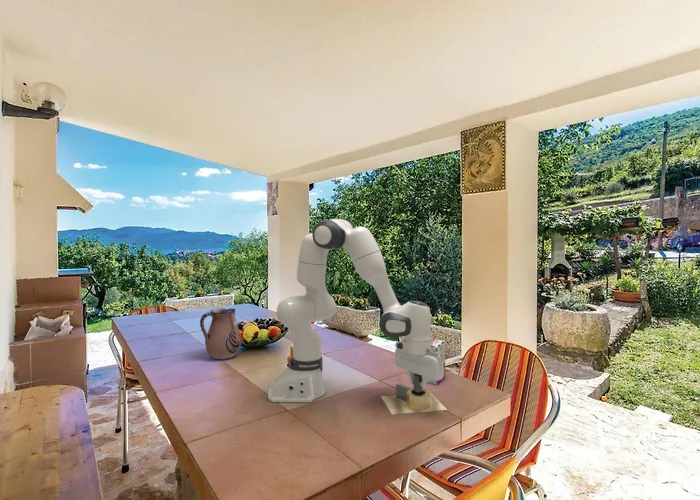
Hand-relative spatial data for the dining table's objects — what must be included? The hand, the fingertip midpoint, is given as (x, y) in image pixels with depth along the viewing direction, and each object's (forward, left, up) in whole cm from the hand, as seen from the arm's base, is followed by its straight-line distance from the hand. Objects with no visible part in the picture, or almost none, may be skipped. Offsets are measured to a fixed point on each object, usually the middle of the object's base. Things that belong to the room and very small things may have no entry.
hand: (418, 385), depth 130 cm
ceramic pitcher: (-80, +75, -9) cm, 110 cm away
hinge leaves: (0, +3, -7) cm, 8 cm away
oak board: (-1, +3, -9) cm, 9 cm away
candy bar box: (+18, +26, -9) cm, 33 cm away
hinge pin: (0, 0, -7) cm, 7 cm away
